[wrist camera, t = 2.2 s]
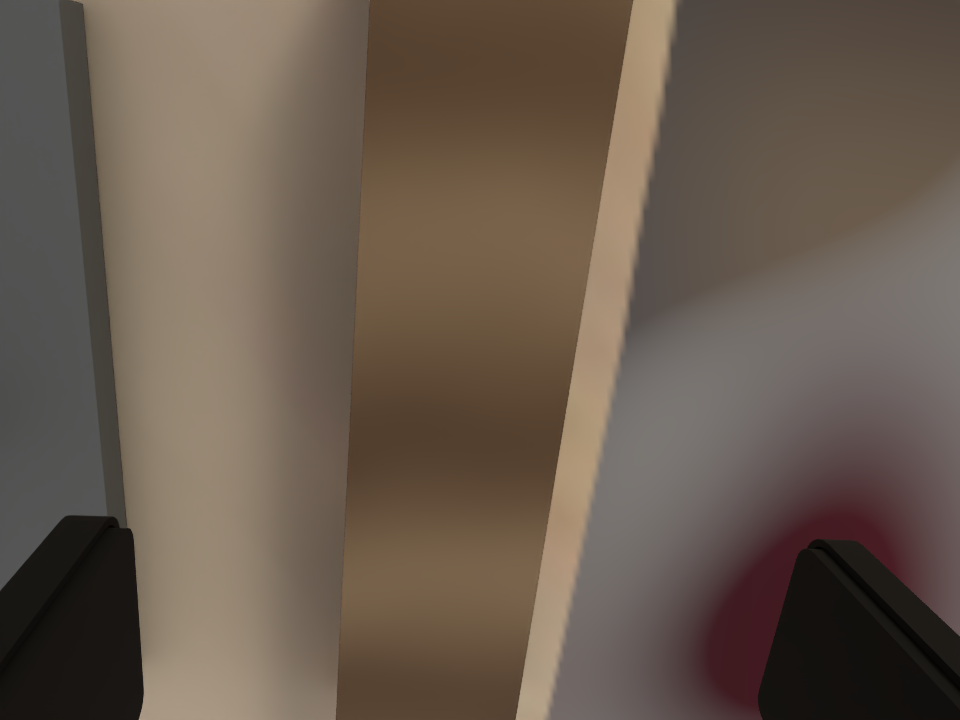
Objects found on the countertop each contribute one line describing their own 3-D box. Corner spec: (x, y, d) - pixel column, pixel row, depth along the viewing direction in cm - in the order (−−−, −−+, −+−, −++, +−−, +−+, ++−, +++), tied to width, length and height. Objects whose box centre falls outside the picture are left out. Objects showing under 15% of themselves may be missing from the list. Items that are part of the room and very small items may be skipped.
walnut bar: (387, -136, 13) (380, -226, 10) (593, -105, 14) (661, -178, 10) (345, 684, 20) (331, 817, 16) (483, 684, 21) (499, 814, 17)
